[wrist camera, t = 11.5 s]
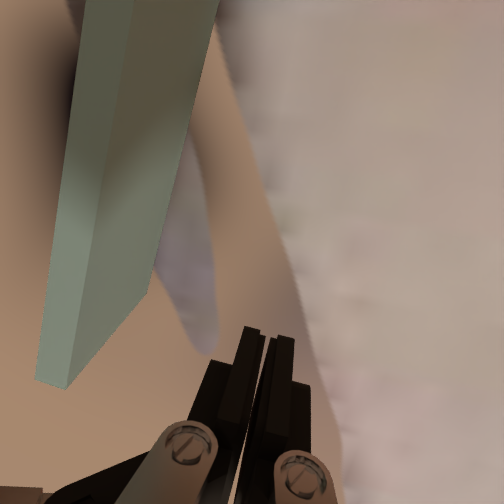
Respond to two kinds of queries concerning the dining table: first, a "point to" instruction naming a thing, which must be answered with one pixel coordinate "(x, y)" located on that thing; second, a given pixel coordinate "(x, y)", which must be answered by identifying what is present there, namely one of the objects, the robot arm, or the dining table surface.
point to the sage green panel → (118, 169)
